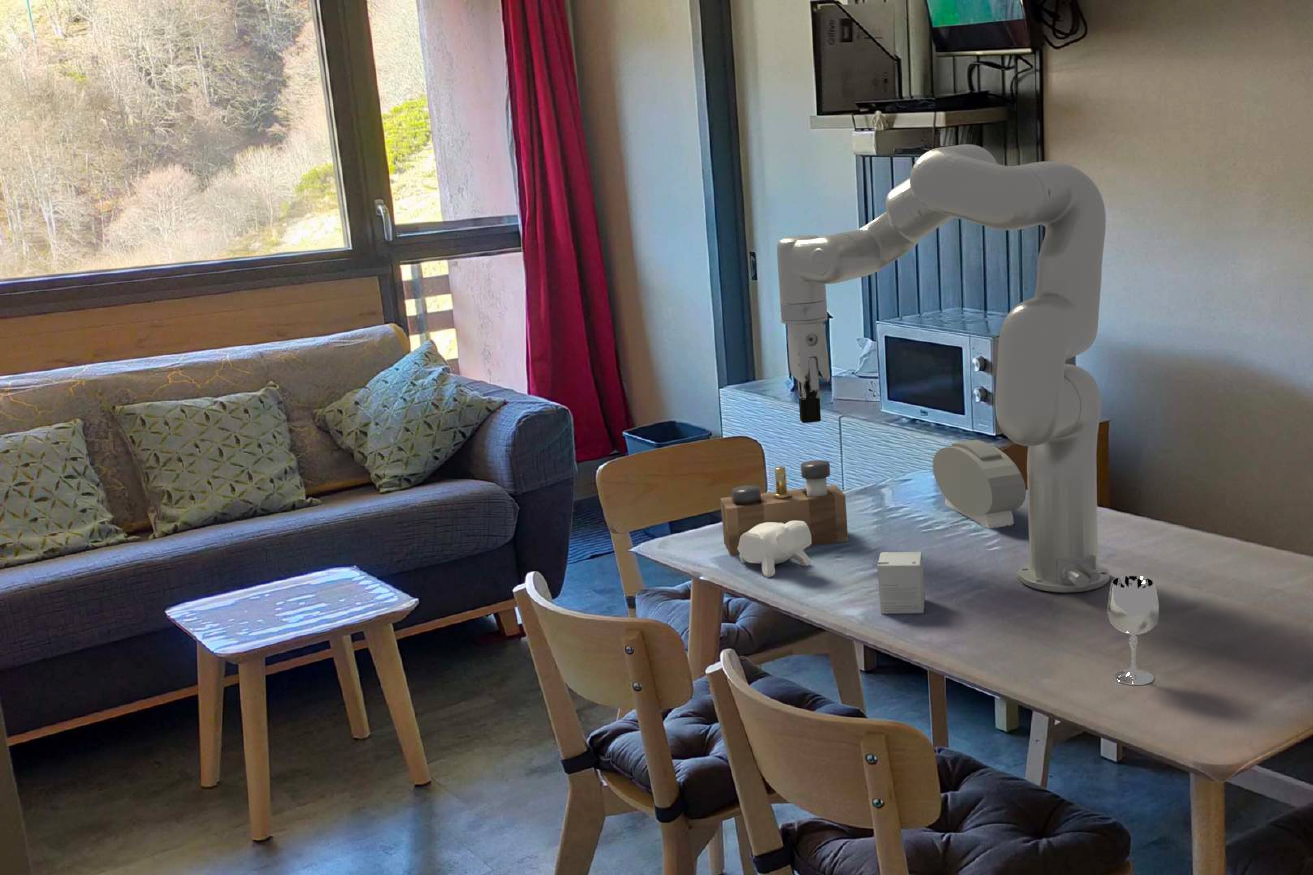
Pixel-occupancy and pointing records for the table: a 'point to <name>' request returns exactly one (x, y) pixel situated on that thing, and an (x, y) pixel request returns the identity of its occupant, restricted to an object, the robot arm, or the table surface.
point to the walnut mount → (788, 516)
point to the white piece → (775, 544)
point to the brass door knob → (781, 484)
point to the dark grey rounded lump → (746, 495)
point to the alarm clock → (979, 482)
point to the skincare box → (901, 582)
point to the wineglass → (1133, 618)
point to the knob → (815, 477)
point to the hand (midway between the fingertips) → (810, 421)
